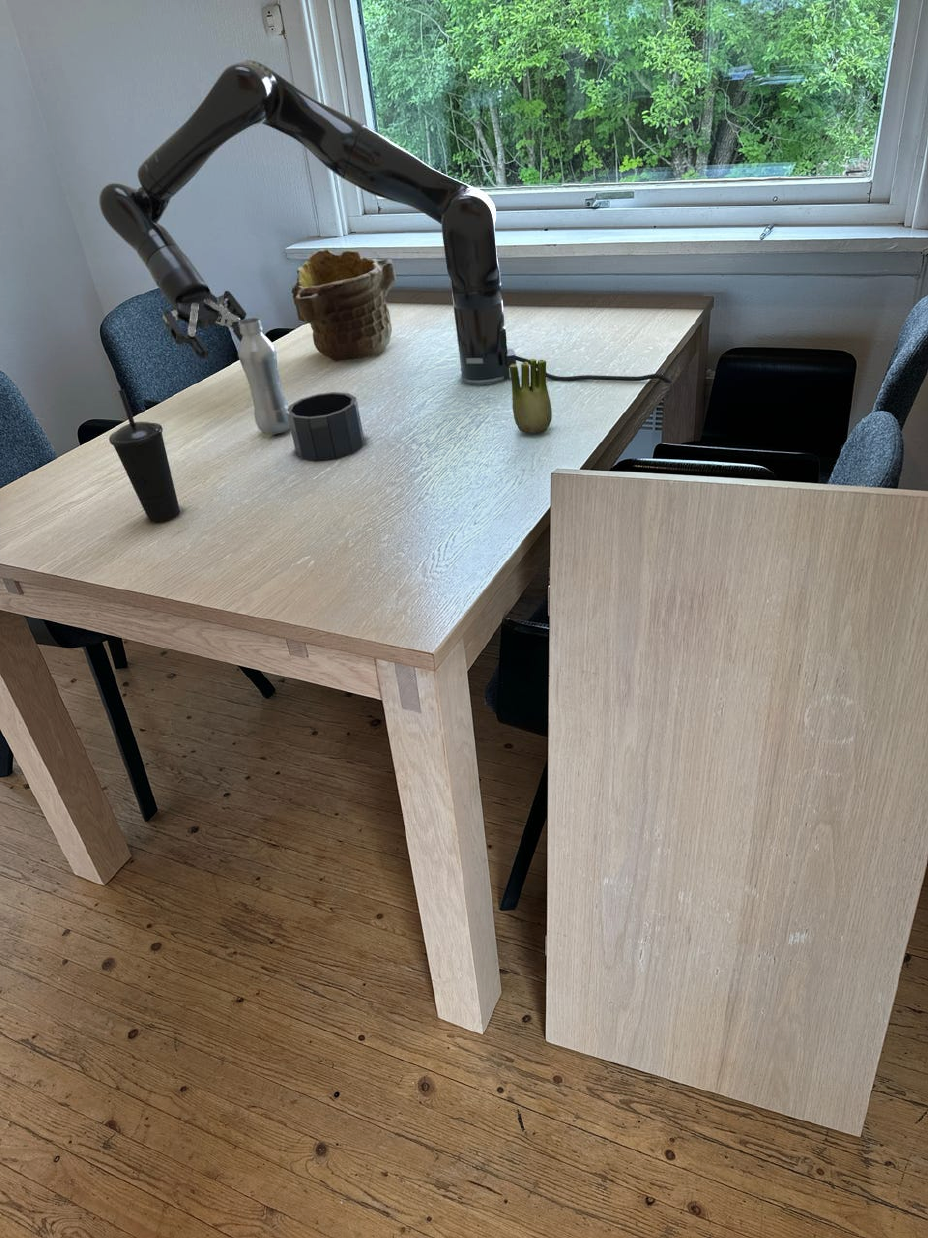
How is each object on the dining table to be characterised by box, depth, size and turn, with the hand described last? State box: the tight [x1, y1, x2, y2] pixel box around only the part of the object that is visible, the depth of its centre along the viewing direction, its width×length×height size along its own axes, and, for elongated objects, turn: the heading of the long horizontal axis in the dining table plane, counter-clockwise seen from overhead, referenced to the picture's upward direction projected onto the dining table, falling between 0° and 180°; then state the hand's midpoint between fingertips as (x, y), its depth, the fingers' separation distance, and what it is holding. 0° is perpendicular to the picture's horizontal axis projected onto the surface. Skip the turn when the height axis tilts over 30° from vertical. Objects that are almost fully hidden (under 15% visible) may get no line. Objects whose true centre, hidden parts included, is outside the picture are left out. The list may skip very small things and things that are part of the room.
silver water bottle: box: [237, 317, 291, 435], centre depth 154 cm, size 6×7×20 cm
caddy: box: [286, 391, 365, 462], centre depth 149 cm, size 12×12×8 cm
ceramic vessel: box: [291, 248, 397, 362], centre depth 188 cm, size 23×24×25 cm
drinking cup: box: [108, 389, 181, 524], centre depth 130 cm, size 8×8×20 cm
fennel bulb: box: [509, 358, 553, 435], centre depth 142 cm, size 6×5×12 cm
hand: (226, 349), depth 159 cm, fingers open, 8 cm apart
